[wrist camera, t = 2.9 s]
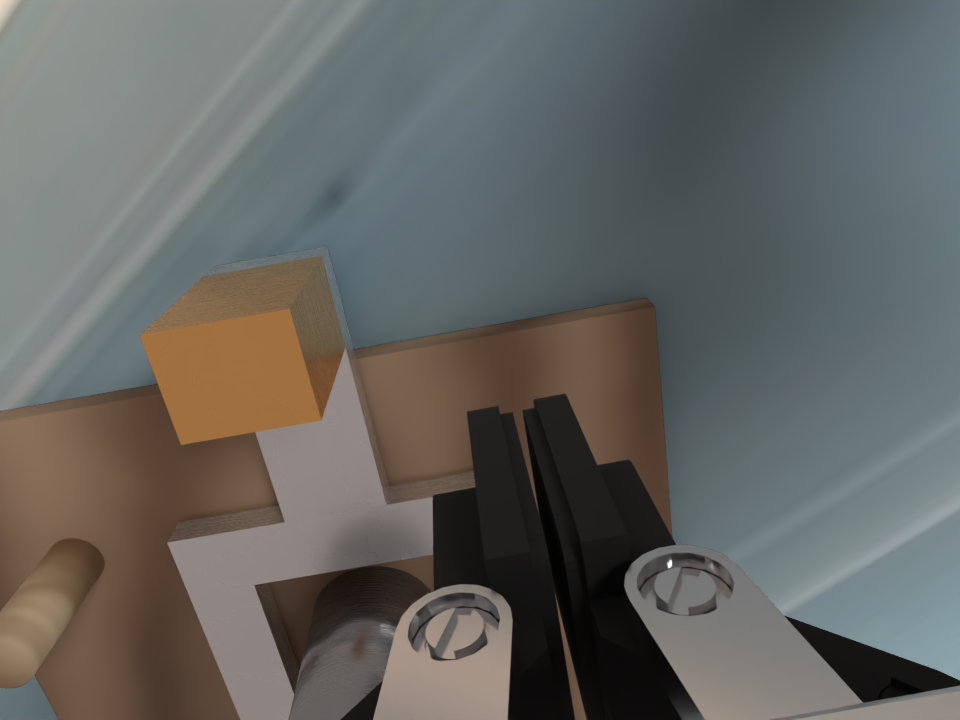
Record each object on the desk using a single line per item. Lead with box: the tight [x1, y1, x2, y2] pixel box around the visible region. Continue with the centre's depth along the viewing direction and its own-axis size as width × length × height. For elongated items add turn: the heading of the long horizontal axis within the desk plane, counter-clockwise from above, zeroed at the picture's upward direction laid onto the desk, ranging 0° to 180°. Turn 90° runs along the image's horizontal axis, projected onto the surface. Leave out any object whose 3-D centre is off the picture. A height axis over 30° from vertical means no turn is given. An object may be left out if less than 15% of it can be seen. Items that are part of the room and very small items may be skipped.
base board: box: [0, 298, 672, 720], centre depth 29 cm, size 26×22×1 cm
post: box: [288, 566, 431, 720], centre depth 26 cm, size 5×5×6 cm
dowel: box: [0, 538, 105, 688], centre depth 24 cm, size 2×2×5 cm
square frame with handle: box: [139, 246, 476, 720], centre depth 24 cm, size 21×12×6 cm, turn 9°
